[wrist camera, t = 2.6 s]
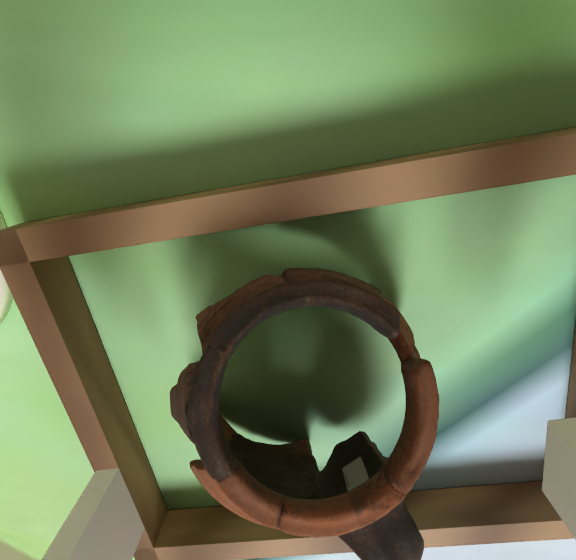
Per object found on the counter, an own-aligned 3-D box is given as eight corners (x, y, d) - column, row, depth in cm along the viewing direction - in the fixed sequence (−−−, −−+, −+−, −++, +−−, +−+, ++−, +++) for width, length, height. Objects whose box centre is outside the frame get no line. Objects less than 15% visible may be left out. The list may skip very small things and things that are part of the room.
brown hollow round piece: (149, 367, 18) (77, 397, 10) (299, 246, 20) (344, 186, 12) (311, 565, 18) (376, 764, 10) (447, 424, 19) (599, 490, 11)
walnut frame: (635, 116, 12) (692, 113, 11) (582, 495, 18) (613, 536, 17) (24, 222, 15) (-17, 234, 13) (153, 527, 21) (138, 565, 19)
